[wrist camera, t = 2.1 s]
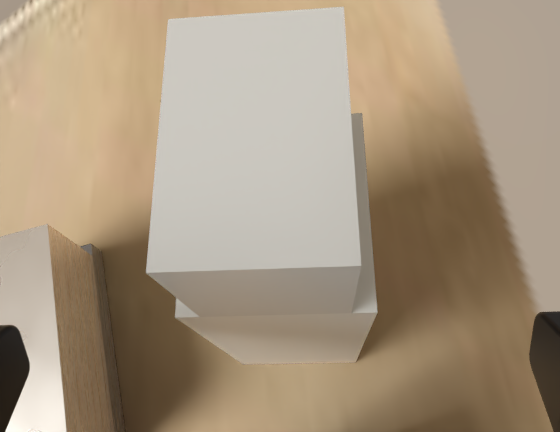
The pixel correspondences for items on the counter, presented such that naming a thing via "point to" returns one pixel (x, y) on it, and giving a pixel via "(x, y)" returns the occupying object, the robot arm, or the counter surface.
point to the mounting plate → (60, 333)
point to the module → (263, 188)
